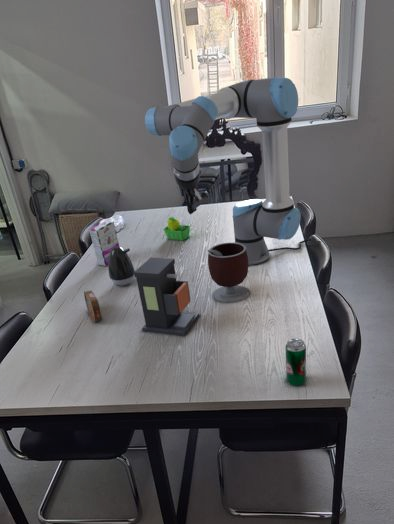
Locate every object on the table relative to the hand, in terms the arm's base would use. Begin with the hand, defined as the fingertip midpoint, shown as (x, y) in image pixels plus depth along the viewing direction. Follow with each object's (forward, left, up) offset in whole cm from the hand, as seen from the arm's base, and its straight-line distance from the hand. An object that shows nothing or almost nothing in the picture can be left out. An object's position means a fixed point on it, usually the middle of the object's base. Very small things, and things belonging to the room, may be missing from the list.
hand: (192, 210), depth 165 cm
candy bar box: (+43, -36, -30) cm, 64 cm away
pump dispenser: (+32, -11, -30) cm, 45 cm away
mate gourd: (-10, +8, -30) cm, 32 cm away
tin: (+38, +15, -30) cm, 50 cm away
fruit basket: (+14, -56, -30) cm, 65 cm away
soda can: (-27, +61, -30) cm, 73 cm away
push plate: (+4, +26, -23) cm, 35 cm away
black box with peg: (+9, +24, -29) cm, 39 cm away
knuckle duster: (+50, -83, -30) cm, 101 cm away
